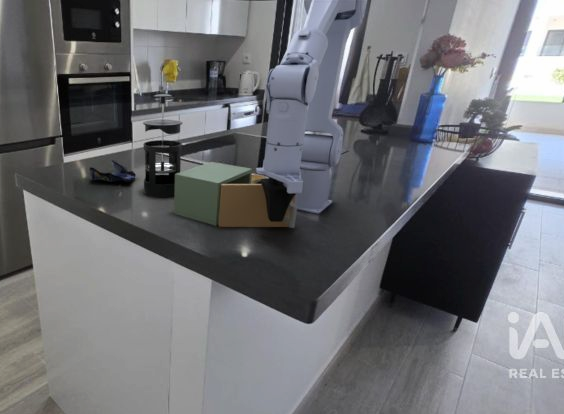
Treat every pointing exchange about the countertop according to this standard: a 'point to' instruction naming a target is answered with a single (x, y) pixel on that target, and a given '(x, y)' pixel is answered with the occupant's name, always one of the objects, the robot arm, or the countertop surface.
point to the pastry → (256, 179)
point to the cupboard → (205, 189)
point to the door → (249, 207)
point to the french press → (162, 183)
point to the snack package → (117, 176)
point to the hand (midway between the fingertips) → (275, 220)
